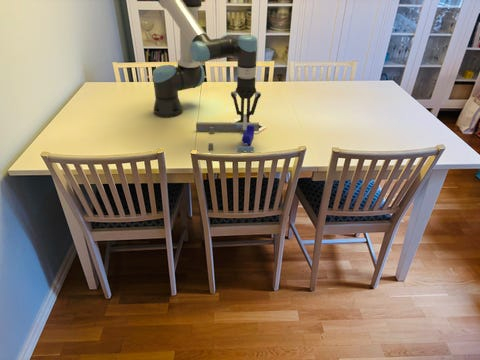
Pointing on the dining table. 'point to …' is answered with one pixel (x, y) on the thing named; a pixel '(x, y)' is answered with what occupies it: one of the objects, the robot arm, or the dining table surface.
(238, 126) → the gray assembly fixture
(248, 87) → the robot arm
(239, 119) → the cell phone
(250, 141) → the blue angled bracket
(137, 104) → the dining table surface
